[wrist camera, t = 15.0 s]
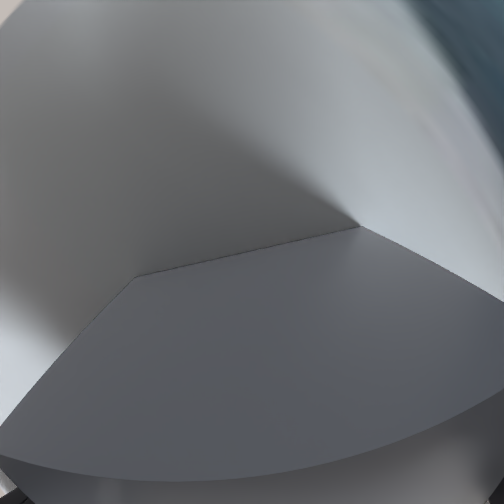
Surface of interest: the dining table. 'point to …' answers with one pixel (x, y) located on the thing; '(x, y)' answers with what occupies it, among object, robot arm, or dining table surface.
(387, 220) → the dining table surface
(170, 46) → the dining table surface
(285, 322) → the grey cube
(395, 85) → the dining table surface
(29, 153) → the dining table surface
